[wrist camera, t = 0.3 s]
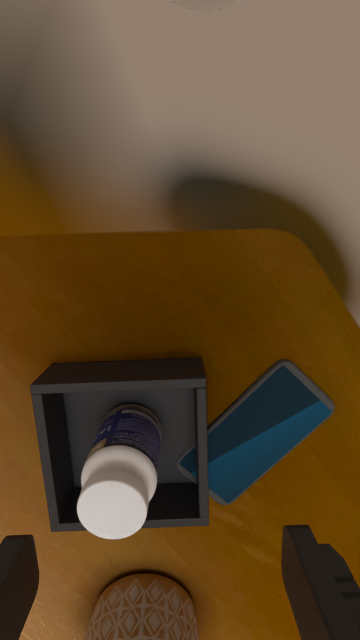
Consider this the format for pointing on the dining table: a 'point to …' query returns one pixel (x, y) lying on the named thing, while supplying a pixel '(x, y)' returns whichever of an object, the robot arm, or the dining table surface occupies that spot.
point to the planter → (143, 611)
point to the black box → (85, 420)
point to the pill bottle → (120, 473)
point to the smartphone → (258, 430)
